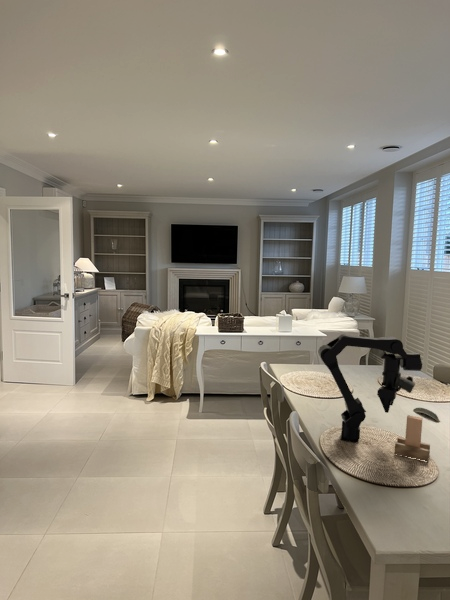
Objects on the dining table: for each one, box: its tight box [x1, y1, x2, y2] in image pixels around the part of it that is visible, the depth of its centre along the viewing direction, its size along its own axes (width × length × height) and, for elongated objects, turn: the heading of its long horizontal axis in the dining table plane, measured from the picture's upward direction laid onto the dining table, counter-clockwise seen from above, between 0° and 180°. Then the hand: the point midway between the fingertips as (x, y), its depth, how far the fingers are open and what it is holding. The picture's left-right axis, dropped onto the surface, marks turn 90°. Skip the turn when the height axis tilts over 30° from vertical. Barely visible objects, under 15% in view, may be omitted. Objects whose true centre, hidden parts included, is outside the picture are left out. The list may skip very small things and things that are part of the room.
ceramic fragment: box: [412, 407, 441, 423], centre depth 190 cm, size 14×5×4 cm, turn 21°
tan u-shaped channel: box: [393, 436, 431, 462], centre depth 152 cm, size 11×8×4 cm
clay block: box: [404, 414, 424, 448], centre depth 151 cm, size 5×2×13 cm, turn 60°
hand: (388, 408), depth 161 cm, fingers open, 9 cm apart
